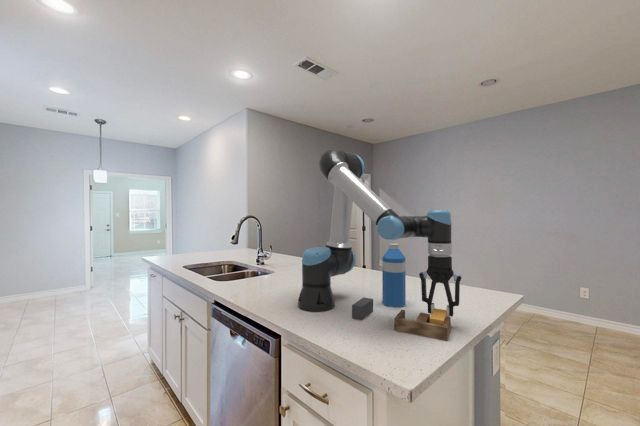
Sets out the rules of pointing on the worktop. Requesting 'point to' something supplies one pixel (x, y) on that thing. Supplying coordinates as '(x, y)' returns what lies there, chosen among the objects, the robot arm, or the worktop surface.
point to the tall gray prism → (362, 308)
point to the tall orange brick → (438, 316)
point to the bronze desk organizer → (422, 326)
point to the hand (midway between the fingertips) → (440, 324)
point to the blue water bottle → (393, 277)
